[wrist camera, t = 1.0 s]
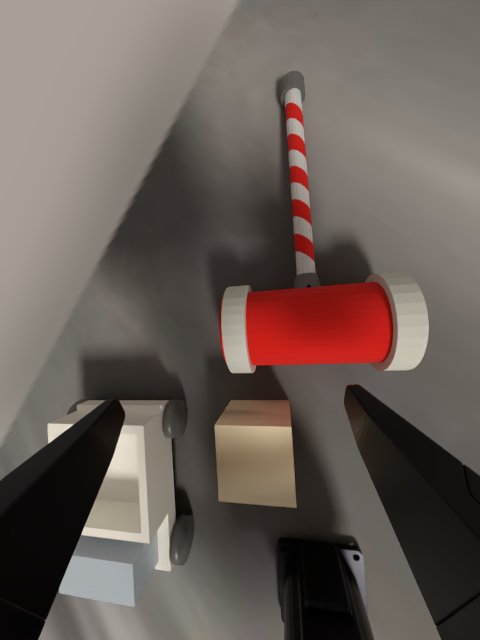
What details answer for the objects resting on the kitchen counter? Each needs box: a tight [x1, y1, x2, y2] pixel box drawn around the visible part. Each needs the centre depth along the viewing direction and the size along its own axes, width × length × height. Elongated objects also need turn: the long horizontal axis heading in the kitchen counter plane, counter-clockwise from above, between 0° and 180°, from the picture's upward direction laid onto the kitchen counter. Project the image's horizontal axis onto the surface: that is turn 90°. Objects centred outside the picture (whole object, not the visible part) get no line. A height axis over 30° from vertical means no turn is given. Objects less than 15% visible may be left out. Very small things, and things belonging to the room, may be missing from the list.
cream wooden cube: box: [214, 400, 297, 508], centre depth 17 cm, size 5×5×5 cm
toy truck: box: [48, 399, 194, 607], centre depth 19 cm, size 13×10×6 cm
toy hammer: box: [219, 71, 429, 373], centre depth 16 cm, size 23×12×6 cm, turn 3°
